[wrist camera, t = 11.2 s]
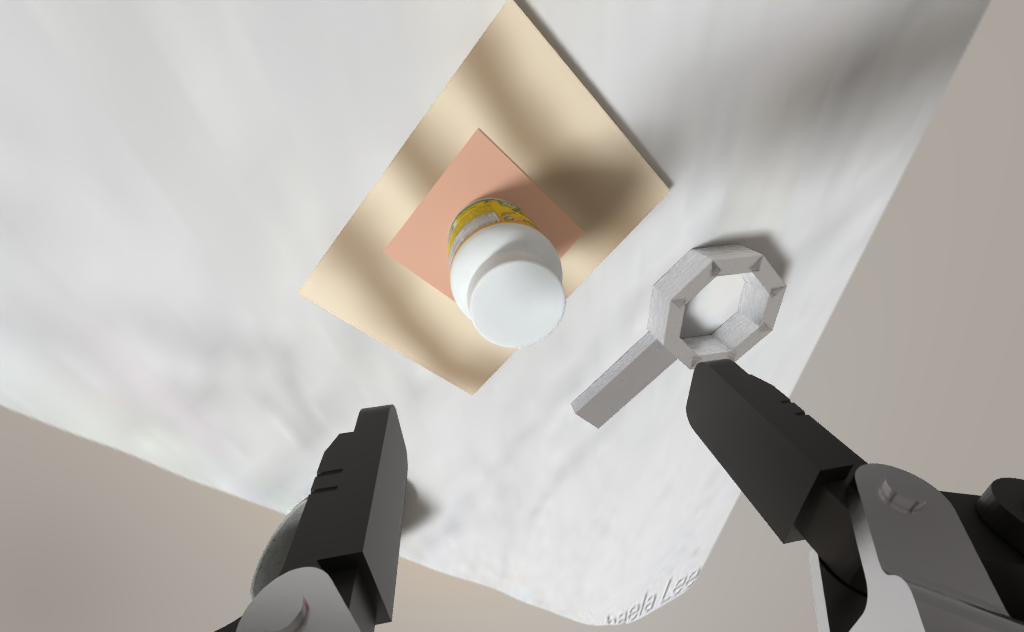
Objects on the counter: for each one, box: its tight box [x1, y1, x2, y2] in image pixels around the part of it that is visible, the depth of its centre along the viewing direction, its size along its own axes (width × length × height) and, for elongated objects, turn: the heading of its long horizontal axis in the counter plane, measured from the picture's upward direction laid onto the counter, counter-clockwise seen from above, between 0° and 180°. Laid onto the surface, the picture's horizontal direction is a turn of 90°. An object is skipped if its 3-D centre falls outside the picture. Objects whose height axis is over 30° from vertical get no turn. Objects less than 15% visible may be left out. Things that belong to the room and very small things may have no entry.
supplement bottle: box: [448, 198, 566, 348], centre depth 19 cm, size 5×5×10 cm
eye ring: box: [571, 244, 786, 429], centre depth 30 cm, size 18×9×2 cm, turn 138°
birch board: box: [297, 0, 670, 395], centre depth 24 cm, size 20×14×1 cm
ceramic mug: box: [250, 498, 308, 602], centre depth 31 cm, size 11×8×8 cm
